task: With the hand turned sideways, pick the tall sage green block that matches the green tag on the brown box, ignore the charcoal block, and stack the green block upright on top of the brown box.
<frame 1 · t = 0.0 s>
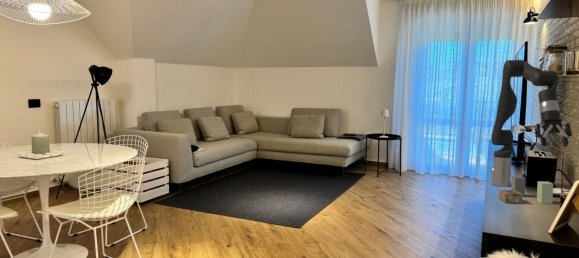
hand: (555, 146, 178), 31 cm above the tv stand, tool tilted 20°, fingers open, 8 cm apart
sage green block: (544, 202, 200), on the tv stand
brown box: (510, 201, 203), on the tv stand
charcoal block: (517, 195, 213), on the tv stand
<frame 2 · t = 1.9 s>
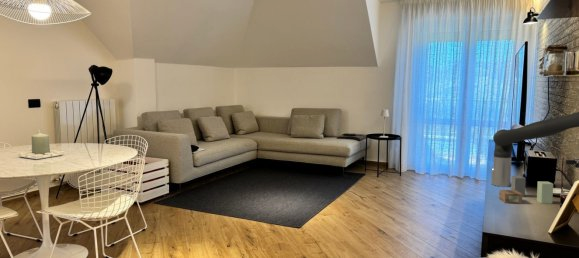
hand: (570, 163, 196), 20 cm above the tv stand, tool horizontal, fingers open, 8 cm apart
nothing on the tv stand moved.
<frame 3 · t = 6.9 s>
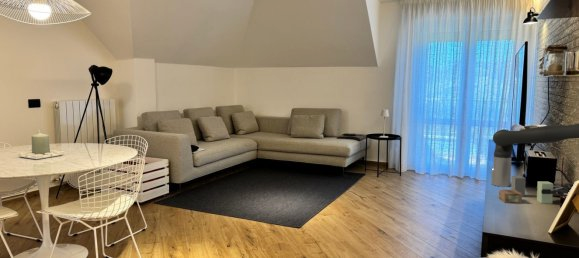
hand: (539, 190, 200), 6 cm above the tv stand, tool horizontal, fingers closed on sage green block, 5 cm apart
sage green block: (544, 202, 200), on the tv stand, touching gripper
when the fingers open (12 cm above the tv stand, at t = 11.7 s): sage green block stays where it is, resting on brown box.
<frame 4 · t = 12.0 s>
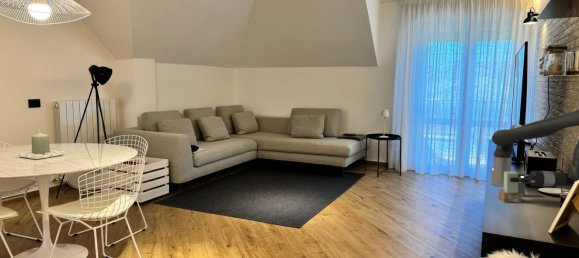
hand: (507, 178, 202), 12 cm above the tv stand, tool horizontal, fingers open, 8 cm apart
sage green block: (510, 191, 202), point 5 cm above the tv stand, touching brown box
brown box: (509, 201, 204), on the tv stand, touching sage green block
everything else where it was.
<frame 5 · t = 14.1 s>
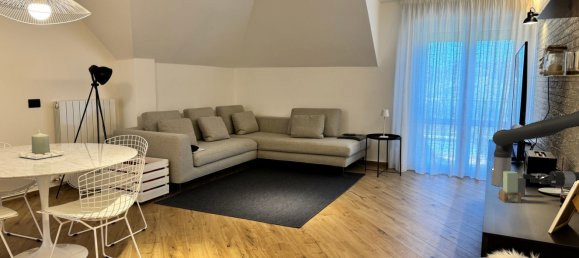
hand: (526, 178, 200), 12 cm above the tv stand, tool horizontal, fingers open, 8 cm apart
sage green block: (510, 191, 203), point 5 cm above the tv stand
brown box: (509, 200, 204), on the tv stand
everything else where it was.
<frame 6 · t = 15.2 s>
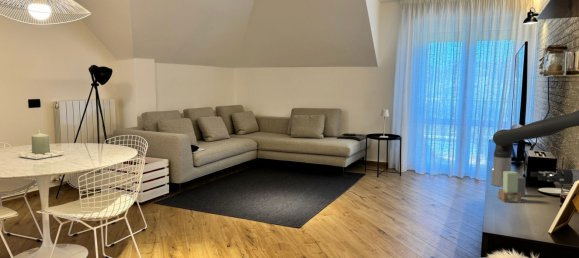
hand: (534, 176, 200), 13 cm above the tv stand, tool horizontal, fingers open, 8 cm apart
sage green block: (510, 191, 203), point 5 cm above the tv stand, touching brown box
brown box: (509, 200, 204), on the tv stand, touching sage green block
everything else where it was.
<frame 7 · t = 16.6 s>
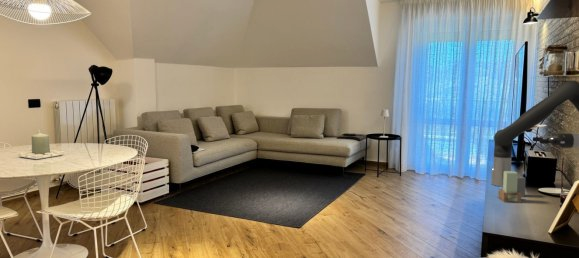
hand: (536, 140, 206), 30 cm above the tv stand, tool horizontal, fingers open, 8 cm apart
nothing on the tv stand moved.
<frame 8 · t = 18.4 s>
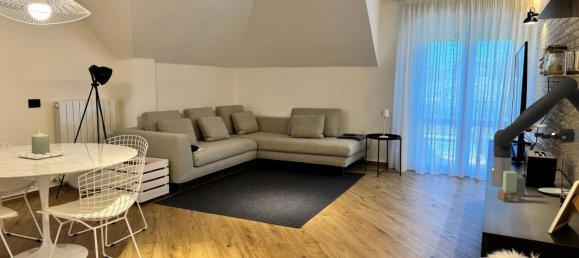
hand: (538, 135, 211), 32 cm above the tv stand, tool horizontal, fingers open, 8 cm apart
nothing on the tv stand moved.
at the end: sage green block 0.3 cm off-centre on the brown box, point 5.0 cm above the brown box's base; sage green block tilted 0°; charcoal block moved 0.0 cm from its start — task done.
